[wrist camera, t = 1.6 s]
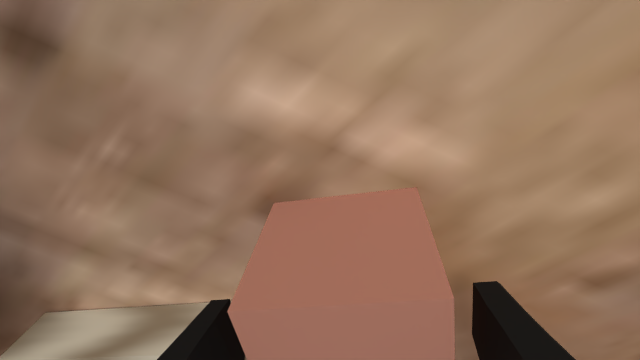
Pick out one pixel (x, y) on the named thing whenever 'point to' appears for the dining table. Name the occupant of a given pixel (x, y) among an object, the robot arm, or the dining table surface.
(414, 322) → the block
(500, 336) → the robot arm
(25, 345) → the base
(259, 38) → the dining table surface
